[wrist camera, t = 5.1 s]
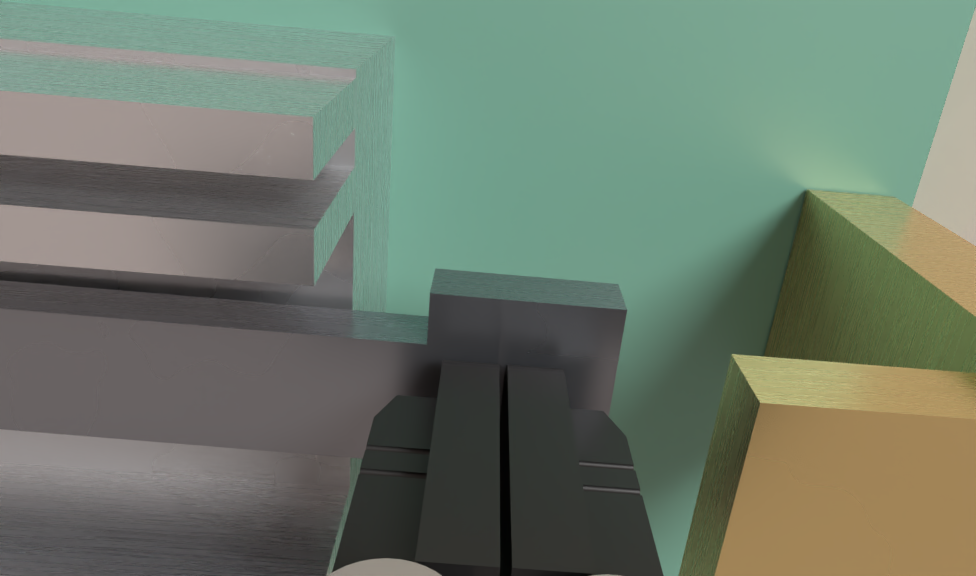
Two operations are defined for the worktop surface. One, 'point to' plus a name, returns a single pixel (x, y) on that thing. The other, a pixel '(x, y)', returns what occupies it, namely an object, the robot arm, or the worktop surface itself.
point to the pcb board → (638, 164)
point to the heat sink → (186, 261)
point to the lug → (851, 408)
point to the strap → (283, 359)
